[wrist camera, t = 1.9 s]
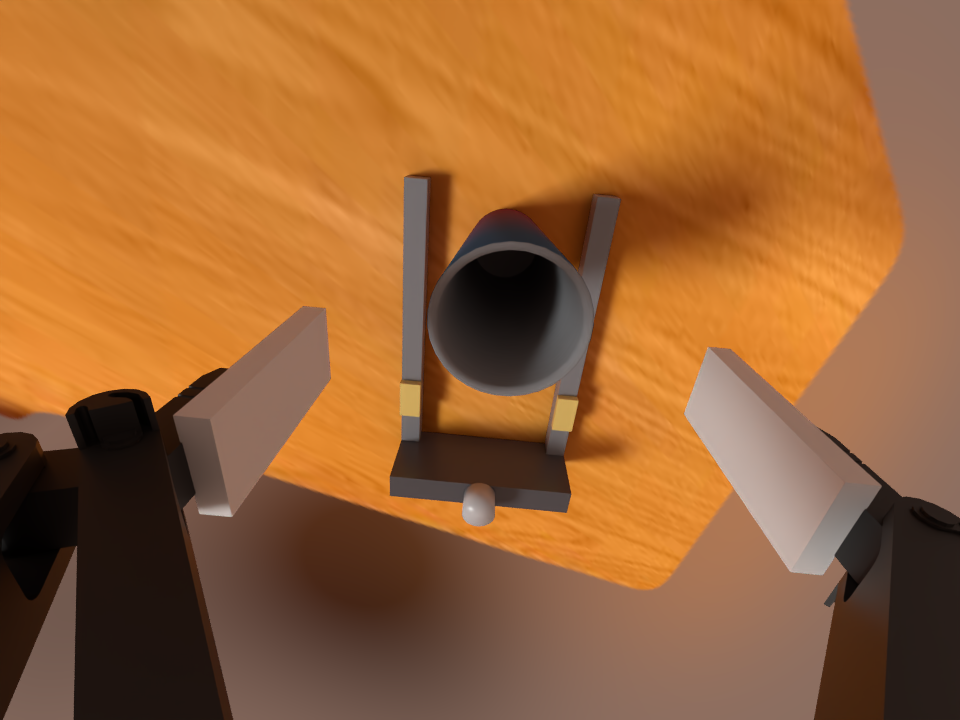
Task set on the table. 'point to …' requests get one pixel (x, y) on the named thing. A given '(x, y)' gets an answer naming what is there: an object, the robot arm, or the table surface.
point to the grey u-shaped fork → (477, 460)
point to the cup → (509, 309)
